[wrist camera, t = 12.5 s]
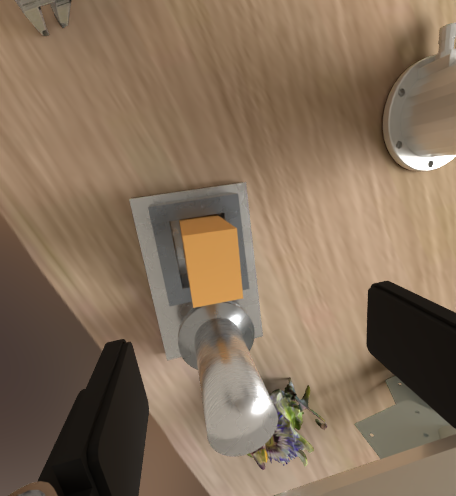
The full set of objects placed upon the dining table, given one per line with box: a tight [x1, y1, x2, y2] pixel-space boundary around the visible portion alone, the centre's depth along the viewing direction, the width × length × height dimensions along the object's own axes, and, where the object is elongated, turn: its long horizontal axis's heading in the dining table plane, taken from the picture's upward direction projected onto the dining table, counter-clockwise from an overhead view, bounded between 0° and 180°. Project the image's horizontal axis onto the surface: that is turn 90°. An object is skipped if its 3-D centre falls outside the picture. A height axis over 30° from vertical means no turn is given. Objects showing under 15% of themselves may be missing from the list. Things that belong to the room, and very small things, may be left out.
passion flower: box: [247, 378, 327, 470], centre depth 33 cm, size 11×11×12 cm
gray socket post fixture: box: [129, 182, 278, 456], centre depth 22 cm, size 19×12×16 cm, turn 7°
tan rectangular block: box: [179, 214, 243, 308], centre depth 22 cm, size 5×4×11 cm
